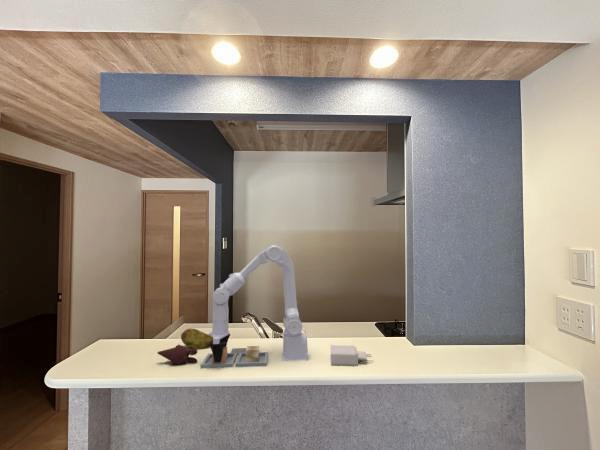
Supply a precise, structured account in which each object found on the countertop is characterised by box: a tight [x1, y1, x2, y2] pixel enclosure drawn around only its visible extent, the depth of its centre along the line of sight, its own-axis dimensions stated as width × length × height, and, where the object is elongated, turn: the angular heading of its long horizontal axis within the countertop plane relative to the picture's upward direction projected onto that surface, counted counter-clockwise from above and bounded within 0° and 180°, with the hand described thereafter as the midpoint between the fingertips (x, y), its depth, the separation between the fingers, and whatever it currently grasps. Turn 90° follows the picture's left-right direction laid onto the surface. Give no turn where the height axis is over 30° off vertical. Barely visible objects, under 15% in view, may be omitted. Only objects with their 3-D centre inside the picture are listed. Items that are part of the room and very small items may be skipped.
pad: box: [230, 347, 247, 356], centre depth 116 cm, size 7×7×1 cm
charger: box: [330, 344, 373, 367], centre depth 106 cm, size 5×9×15 cm
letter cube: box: [211, 346, 228, 363], centre depth 105 cm, size 4×5×5 cm
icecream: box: [157, 344, 198, 366], centre depth 105 cm, size 7×7×15 cm
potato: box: [180, 328, 213, 350], centre depth 122 cm, size 8×13×8 cm, turn 83°
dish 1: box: [200, 352, 238, 369], centre depth 105 cm, size 11×11×2 cm
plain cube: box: [246, 345, 260, 362], centre depth 106 cm, size 4×4×4 cm
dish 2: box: [234, 351, 269, 368], centre depth 106 cm, size 11×11×2 cm
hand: (219, 358), depth 105 cm, fingers open, 7 cm apart
